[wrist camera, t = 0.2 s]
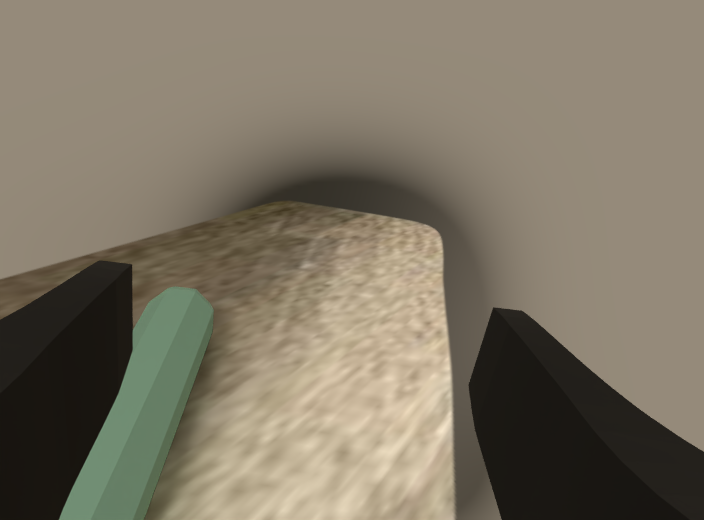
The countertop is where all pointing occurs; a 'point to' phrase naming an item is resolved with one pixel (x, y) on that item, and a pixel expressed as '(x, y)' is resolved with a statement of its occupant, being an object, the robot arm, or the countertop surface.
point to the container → (144, 410)
